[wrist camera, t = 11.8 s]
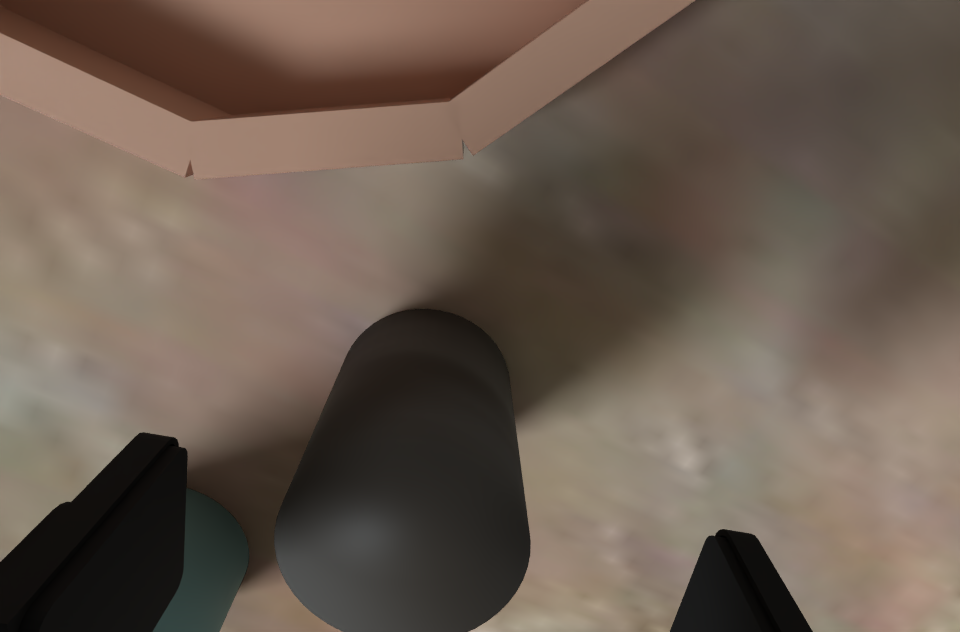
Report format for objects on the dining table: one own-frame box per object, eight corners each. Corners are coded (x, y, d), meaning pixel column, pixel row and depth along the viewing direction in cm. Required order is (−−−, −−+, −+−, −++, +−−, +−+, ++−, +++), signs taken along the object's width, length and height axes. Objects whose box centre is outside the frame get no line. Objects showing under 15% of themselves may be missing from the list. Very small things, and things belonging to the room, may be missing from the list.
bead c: (408, 486, 18) (379, 679, 12) (306, 368, 16) (219, 523, 11) (541, 406, 17) (578, 574, 11) (445, 276, 15) (432, 391, 10)
